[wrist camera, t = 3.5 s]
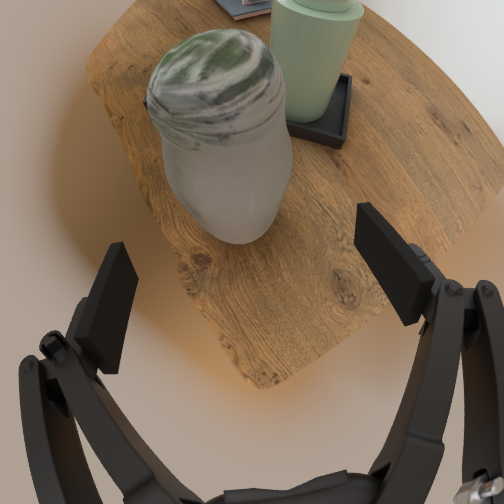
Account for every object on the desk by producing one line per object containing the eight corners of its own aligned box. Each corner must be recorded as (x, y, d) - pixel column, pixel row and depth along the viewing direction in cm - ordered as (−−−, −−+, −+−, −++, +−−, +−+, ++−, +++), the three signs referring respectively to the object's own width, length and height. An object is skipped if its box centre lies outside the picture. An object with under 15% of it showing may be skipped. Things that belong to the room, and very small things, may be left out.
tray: (147, 111, 41) (142, 101, 38) (179, 55, 43) (176, 45, 40) (340, 149, 40) (345, 140, 37) (348, 85, 42) (352, 76, 39)
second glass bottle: (252, 93, 40) (253, -67, 13) (297, 69, 41) (323, -71, 14) (296, 133, 39) (340, -38, 12) (340, 105, 40) (400, -38, 13)
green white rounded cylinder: (216, 170, 39) (173, -5, 11) (286, 195, 39) (342, 25, 11) (187, 234, 38) (69, 110, 10) (259, 262, 37) (284, 169, 9)
